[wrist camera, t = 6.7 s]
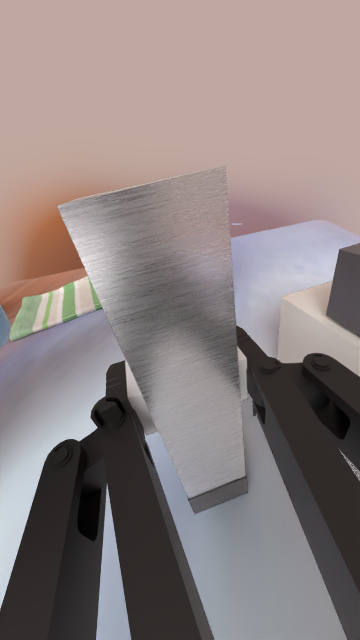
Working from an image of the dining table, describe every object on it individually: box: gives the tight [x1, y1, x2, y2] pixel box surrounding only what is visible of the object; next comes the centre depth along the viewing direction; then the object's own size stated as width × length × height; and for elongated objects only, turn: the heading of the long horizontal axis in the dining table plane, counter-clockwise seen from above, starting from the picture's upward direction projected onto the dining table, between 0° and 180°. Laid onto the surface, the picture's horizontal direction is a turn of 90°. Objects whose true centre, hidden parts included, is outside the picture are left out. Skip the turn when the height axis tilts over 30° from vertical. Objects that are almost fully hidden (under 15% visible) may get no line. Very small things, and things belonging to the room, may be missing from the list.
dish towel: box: [9, 276, 103, 341], centre depth 47 cm, size 18×23×3 cm
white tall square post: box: [57, 166, 248, 514], centre depth 11 cm, size 4×4×18 cm
